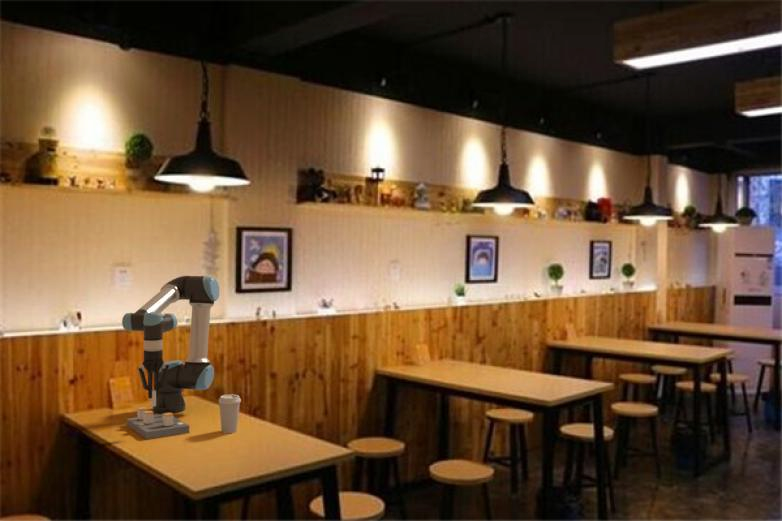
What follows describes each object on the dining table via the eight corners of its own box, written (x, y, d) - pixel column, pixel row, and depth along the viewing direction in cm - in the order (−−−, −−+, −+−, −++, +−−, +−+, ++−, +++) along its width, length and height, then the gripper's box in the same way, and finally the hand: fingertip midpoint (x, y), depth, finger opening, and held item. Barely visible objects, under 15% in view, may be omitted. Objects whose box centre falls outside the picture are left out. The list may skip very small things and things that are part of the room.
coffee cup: (237, 434, 291) (238, 399, 291) (215, 433, 291) (215, 398, 291) (242, 428, 301) (243, 394, 300) (221, 427, 301) (221, 393, 300)
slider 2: (170, 423, 294) (170, 412, 294) (173, 425, 291) (173, 414, 291) (162, 424, 292) (162, 413, 292) (165, 426, 289) (165, 415, 289)
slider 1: (144, 417, 303) (144, 406, 303) (147, 418, 300) (147, 408, 300) (137, 418, 301) (137, 407, 301) (139, 419, 298) (139, 409, 298)
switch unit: (167, 419, 313) (167, 412, 313) (189, 432, 292) (189, 425, 292) (126, 425, 302) (126, 418, 302) (146, 439, 281) (146, 431, 281)
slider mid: (150, 421, 297) (150, 410, 297) (153, 422, 294) (153, 412, 294) (143, 422, 295) (143, 411, 295) (145, 423, 292) (146, 413, 292)
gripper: (165, 346, 294) (165, 401, 295) (134, 349, 286) (134, 405, 287) (171, 349, 288) (171, 405, 289) (140, 352, 280) (140, 409, 281)
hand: (153, 405), depth 288 cm, fingers closed
